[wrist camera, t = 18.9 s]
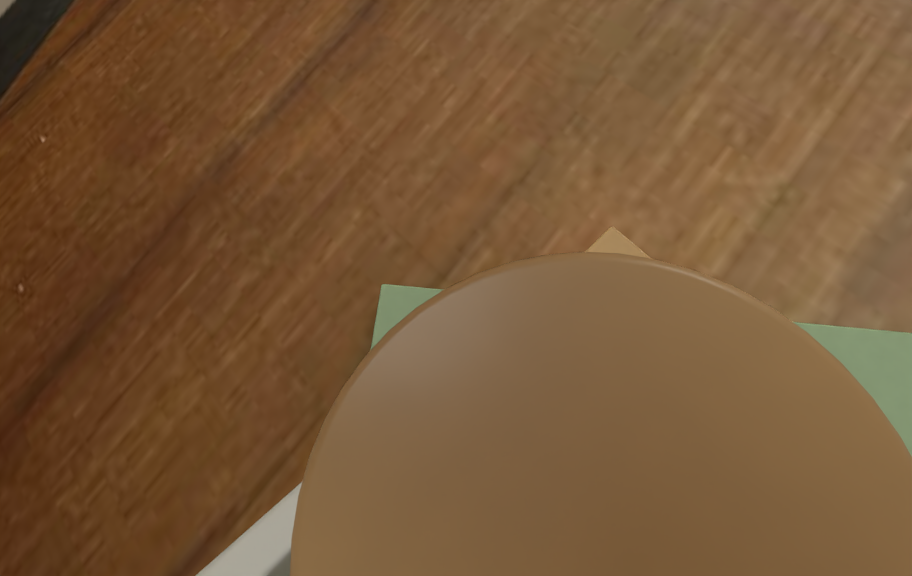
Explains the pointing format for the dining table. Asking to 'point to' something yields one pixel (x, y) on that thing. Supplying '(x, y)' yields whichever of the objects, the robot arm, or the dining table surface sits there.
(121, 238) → the dining table surface
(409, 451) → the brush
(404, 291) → the mat
